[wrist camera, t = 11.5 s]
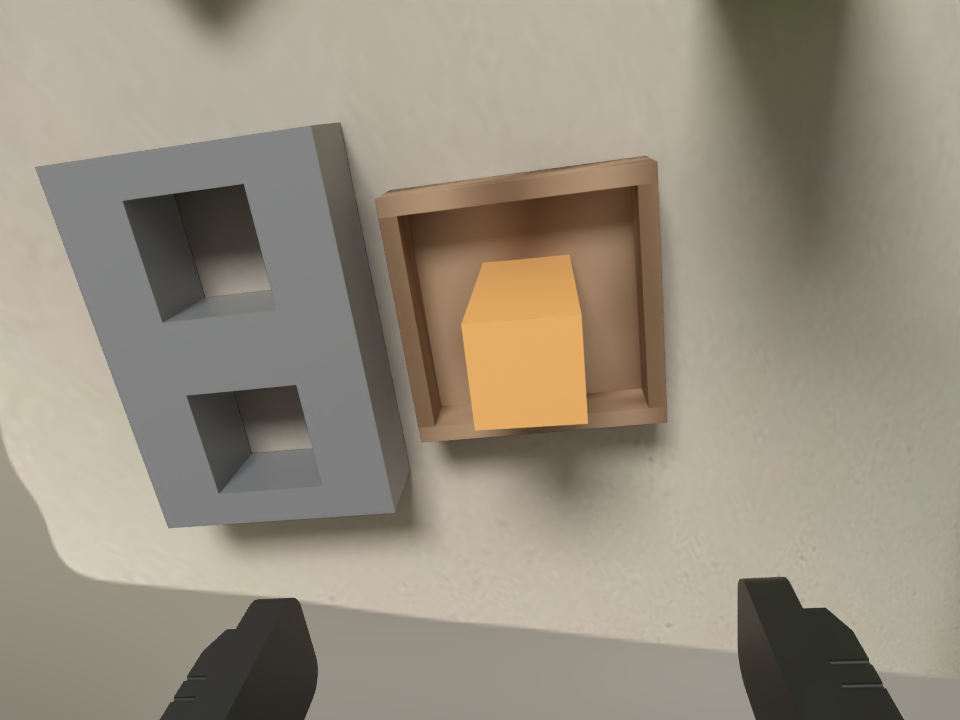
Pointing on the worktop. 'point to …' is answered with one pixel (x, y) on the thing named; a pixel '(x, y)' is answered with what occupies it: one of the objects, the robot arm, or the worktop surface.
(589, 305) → the tray
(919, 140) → the worktop surface
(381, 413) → the cinder block
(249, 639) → the robot arm
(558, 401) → the plug
